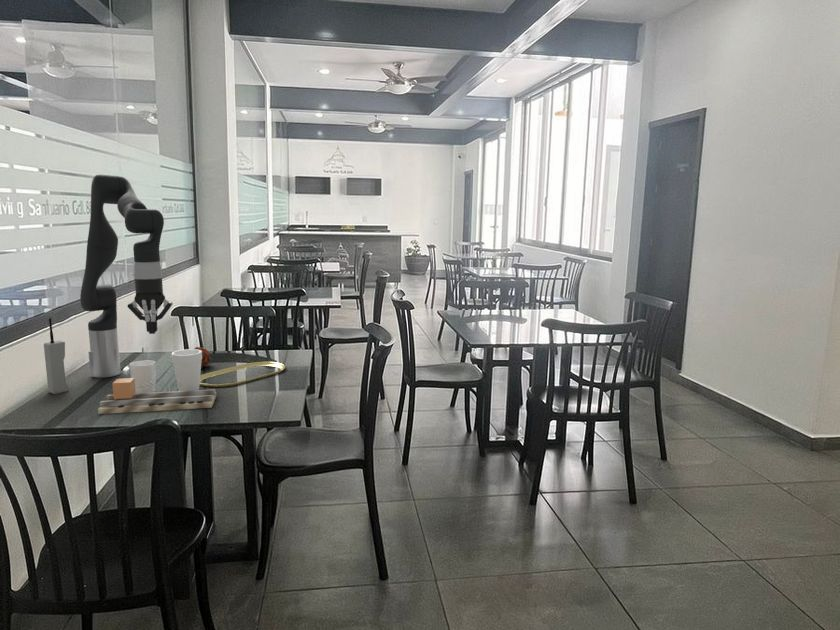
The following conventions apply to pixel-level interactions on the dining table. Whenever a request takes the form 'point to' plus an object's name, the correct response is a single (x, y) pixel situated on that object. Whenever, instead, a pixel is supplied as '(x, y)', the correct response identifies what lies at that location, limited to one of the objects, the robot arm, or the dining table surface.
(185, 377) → the foam cup
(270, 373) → the gold oval ring
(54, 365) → the vintage mobile phone
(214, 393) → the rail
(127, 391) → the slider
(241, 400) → the dining table surface
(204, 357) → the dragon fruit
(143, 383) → the white cup
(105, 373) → the robot arm
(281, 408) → the dining table surface
